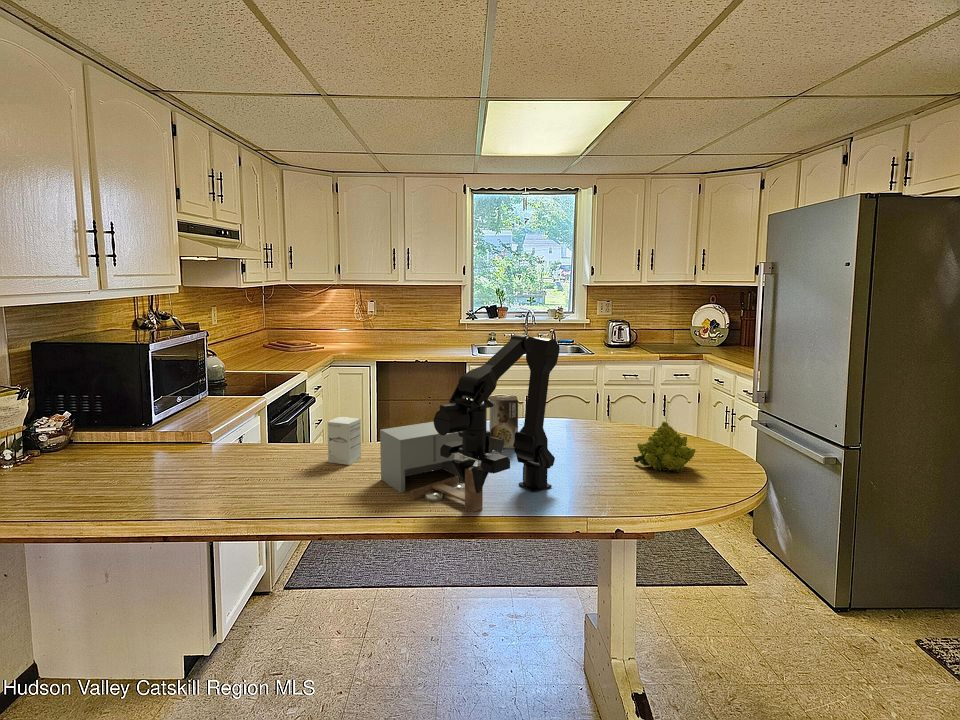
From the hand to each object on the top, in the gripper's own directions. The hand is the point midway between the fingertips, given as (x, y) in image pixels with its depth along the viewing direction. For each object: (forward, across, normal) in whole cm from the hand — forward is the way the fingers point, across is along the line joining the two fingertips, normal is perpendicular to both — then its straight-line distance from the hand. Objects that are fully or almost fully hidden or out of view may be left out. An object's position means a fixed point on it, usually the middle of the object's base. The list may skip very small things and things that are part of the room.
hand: (473, 490), depth 148 cm
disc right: (+5, +12, -5) cm, 14 cm away
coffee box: (+5, +32, -43) cm, 54 cm away
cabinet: (+5, +24, -4) cm, 25 cm away
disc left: (+5, +12, +3) cm, 13 cm away
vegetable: (+5, -16, -62) cm, 64 cm away
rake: (+4, +7, 0) cm, 8 cm away
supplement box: (+5, +53, +3) cm, 53 cm away
